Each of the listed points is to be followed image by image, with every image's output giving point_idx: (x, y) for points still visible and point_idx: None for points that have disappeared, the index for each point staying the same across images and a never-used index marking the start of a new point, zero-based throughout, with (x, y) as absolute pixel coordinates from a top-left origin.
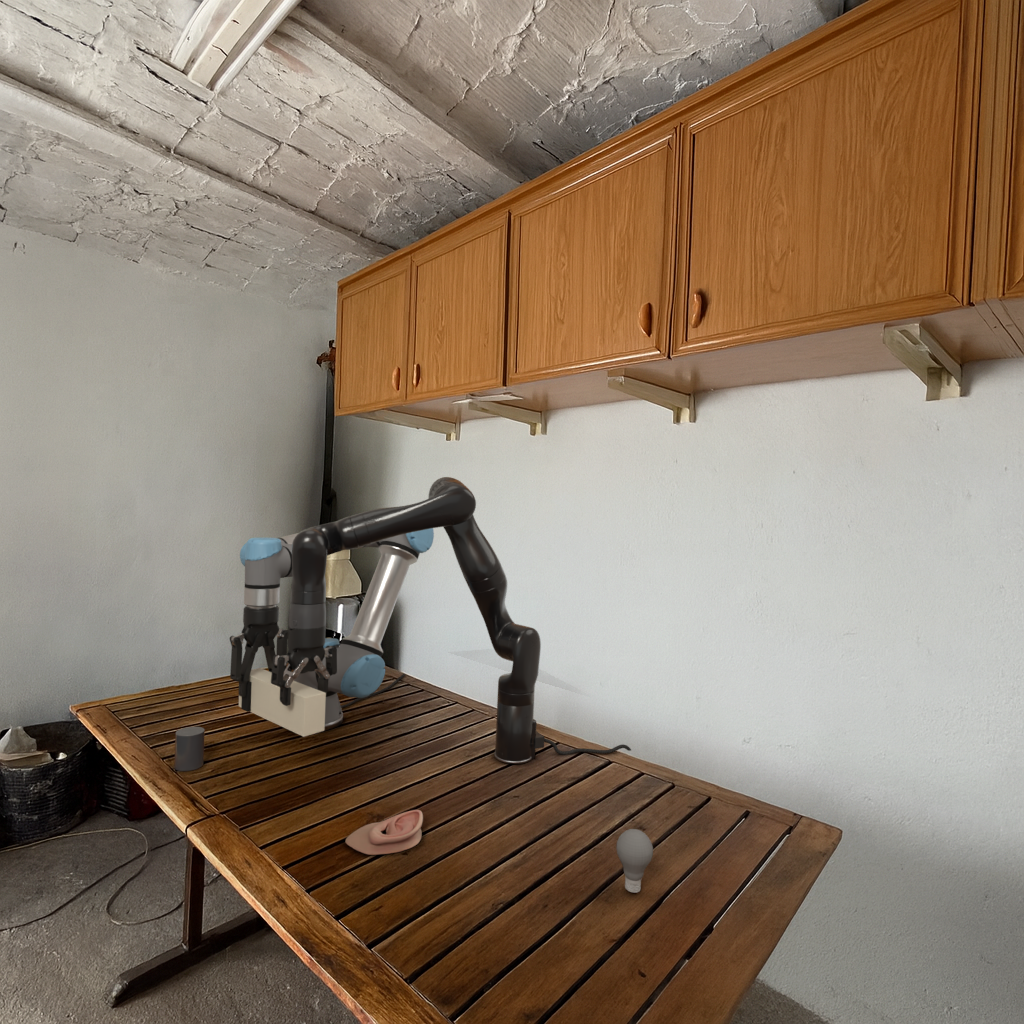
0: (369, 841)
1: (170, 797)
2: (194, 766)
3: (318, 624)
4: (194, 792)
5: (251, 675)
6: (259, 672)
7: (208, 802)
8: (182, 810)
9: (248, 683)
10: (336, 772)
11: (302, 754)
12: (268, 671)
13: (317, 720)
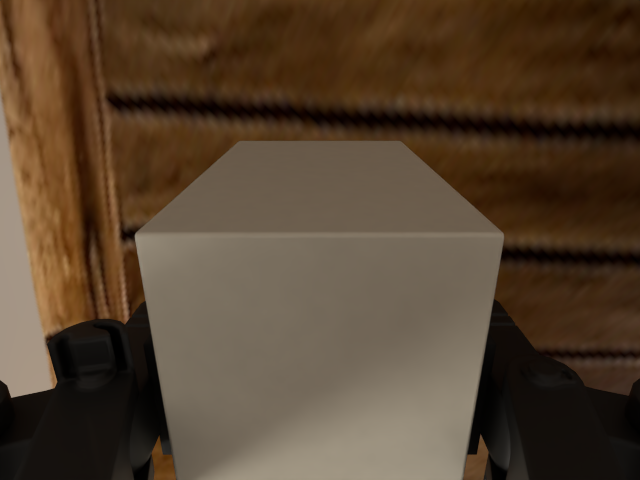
0: None
1: (35, 161)
2: None
3: None
4: (105, 180)
5: (200, 471)
6: (345, 430)
7: (120, 266)
8: (49, 261)
9: (165, 448)
10: None
11: (512, 160)
12: (456, 458)
13: None
